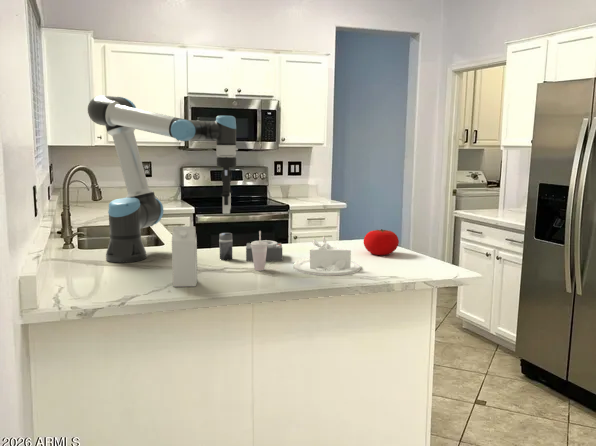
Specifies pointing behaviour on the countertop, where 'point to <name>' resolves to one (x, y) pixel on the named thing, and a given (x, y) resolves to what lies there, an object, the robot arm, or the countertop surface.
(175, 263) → the milk carton
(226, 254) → the lens
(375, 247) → the tomato
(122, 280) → the countertop surface
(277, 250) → the camera body
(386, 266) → the countertop surface
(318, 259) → the dish
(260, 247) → the smoothie
